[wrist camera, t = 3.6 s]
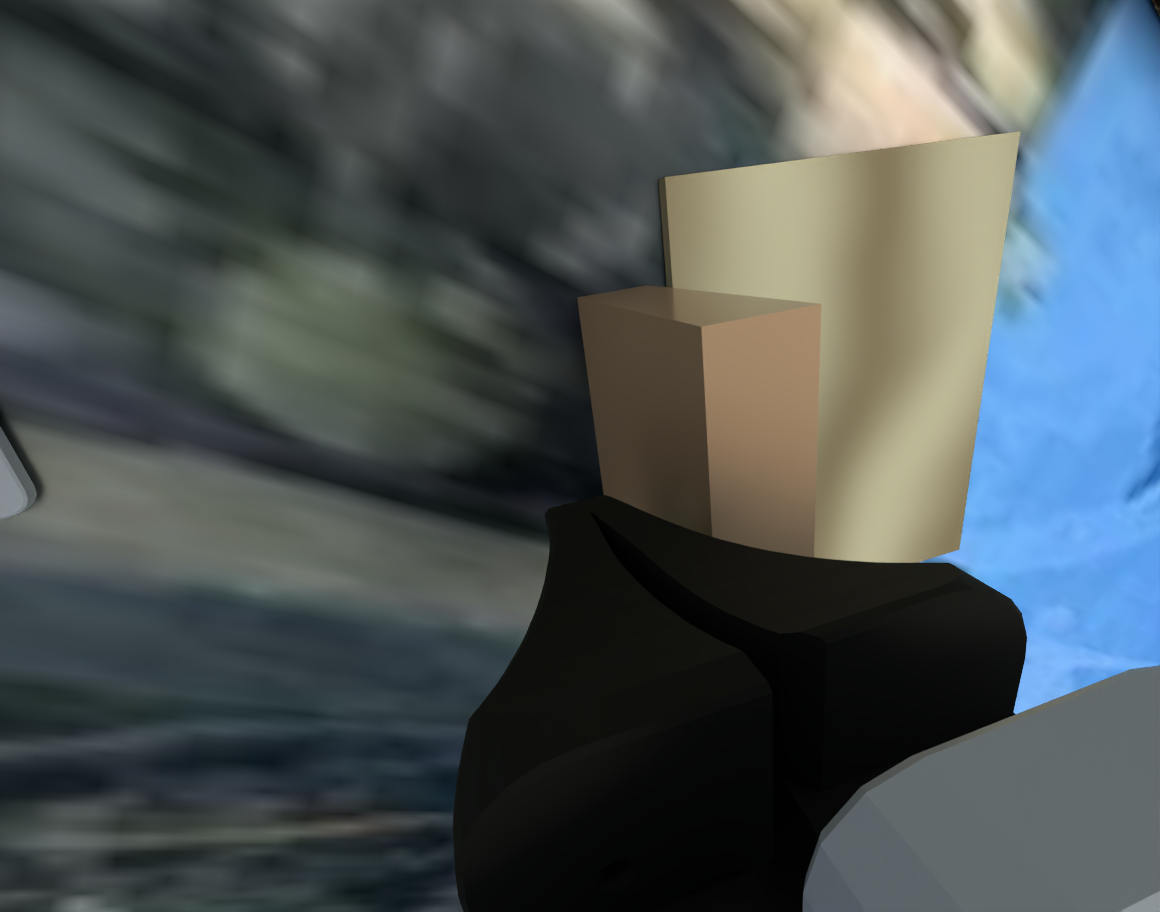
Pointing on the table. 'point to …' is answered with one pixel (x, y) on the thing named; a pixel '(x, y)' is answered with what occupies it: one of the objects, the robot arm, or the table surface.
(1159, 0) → the pine cone
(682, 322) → the block
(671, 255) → the board
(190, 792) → the table surface
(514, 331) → the table surface
